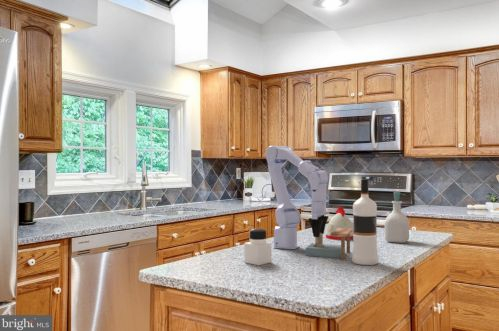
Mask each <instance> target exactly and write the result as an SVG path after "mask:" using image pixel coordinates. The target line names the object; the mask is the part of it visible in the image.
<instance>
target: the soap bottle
mask: <svg viewBox="0 0 499 331" xmlns="http://www.w3.org/2000/svg"><path fill="white" fill-rule="evenodd" d="M401 195H403V196H406V194H404V193H401V191H393V198H394V200H392V201H391V203H392V211H391V213H389V214H388V215H387V216H386V218H385V220H384V239H385V241H386V242H387V243H393V242H394V243H396V244H405V243H407V242H408V241H409V239H410V221H409V218H408V217H407V215H405V214H404V213H403V212H402V210H401V209H402V206H401V204H402V203H403V201H401V200H400V196H401Z"/></svg>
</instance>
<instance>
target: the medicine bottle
mask: <svg viewBox="0 0 499 331" xmlns="http://www.w3.org/2000/svg"><path fill="white" fill-rule="evenodd" d="M248 233H249V241H247V242H244V243H243V246H244V248H243V249H244V252H243V254H244V262H243V263H245V264H250V265H255V266H262V265H266V264H269V263H270V264H271V263H272V242H270V241H269V242H268V241H267V230H265V229H263V228H252V229H250V230H249V232H248Z"/></svg>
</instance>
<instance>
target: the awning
mask: <svg viewBox="0 0 499 331" xmlns="http://www.w3.org/2000/svg"><path fill="white" fill-rule="evenodd" d="M351 232H352V229H347V228H337V229H335V230H334V231H333V232H331V233H330V236H341V240H340V243H341V244H340V245H341V257H340V259H341V260H345V259H346V254H350V253H351V240H350V233H351ZM345 237H347V240H345Z"/></svg>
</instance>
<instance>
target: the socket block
mask: <svg viewBox="0 0 499 331" xmlns="http://www.w3.org/2000/svg"><path fill="white" fill-rule="evenodd" d="M305 256H309V257H310V256H311V257H321V258H322V257H323V258H336V259H341V244H331V243H327V244H325V243H323V247H315V242H314V243H311V244H309V245H308V246H306V247H305Z"/></svg>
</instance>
